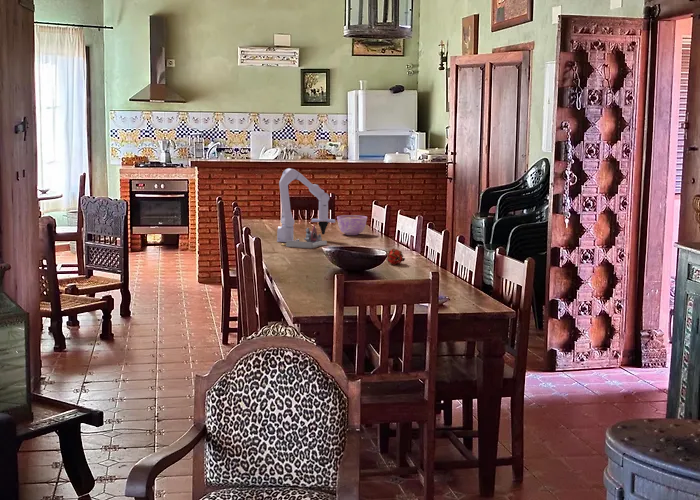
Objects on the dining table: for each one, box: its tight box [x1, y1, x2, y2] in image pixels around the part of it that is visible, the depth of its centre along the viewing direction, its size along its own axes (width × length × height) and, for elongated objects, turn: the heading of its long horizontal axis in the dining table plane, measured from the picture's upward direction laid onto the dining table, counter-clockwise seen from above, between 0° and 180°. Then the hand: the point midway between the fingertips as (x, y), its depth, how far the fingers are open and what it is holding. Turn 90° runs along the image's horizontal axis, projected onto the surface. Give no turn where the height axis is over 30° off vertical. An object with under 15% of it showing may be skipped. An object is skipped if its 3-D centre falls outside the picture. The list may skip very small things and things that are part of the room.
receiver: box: [285, 238, 328, 249], centre depth 499 cm, size 19×19×4 cm
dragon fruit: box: [387, 248, 406, 266], centre depth 438 cm, size 8×8×12 cm
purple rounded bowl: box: [336, 214, 368, 236], centre depth 553 cm, size 20×20×12 cm
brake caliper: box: [303, 224, 323, 243], centre depth 511 cm, size 11×11×12 cm
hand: (323, 234), depth 523 cm, fingers closed
